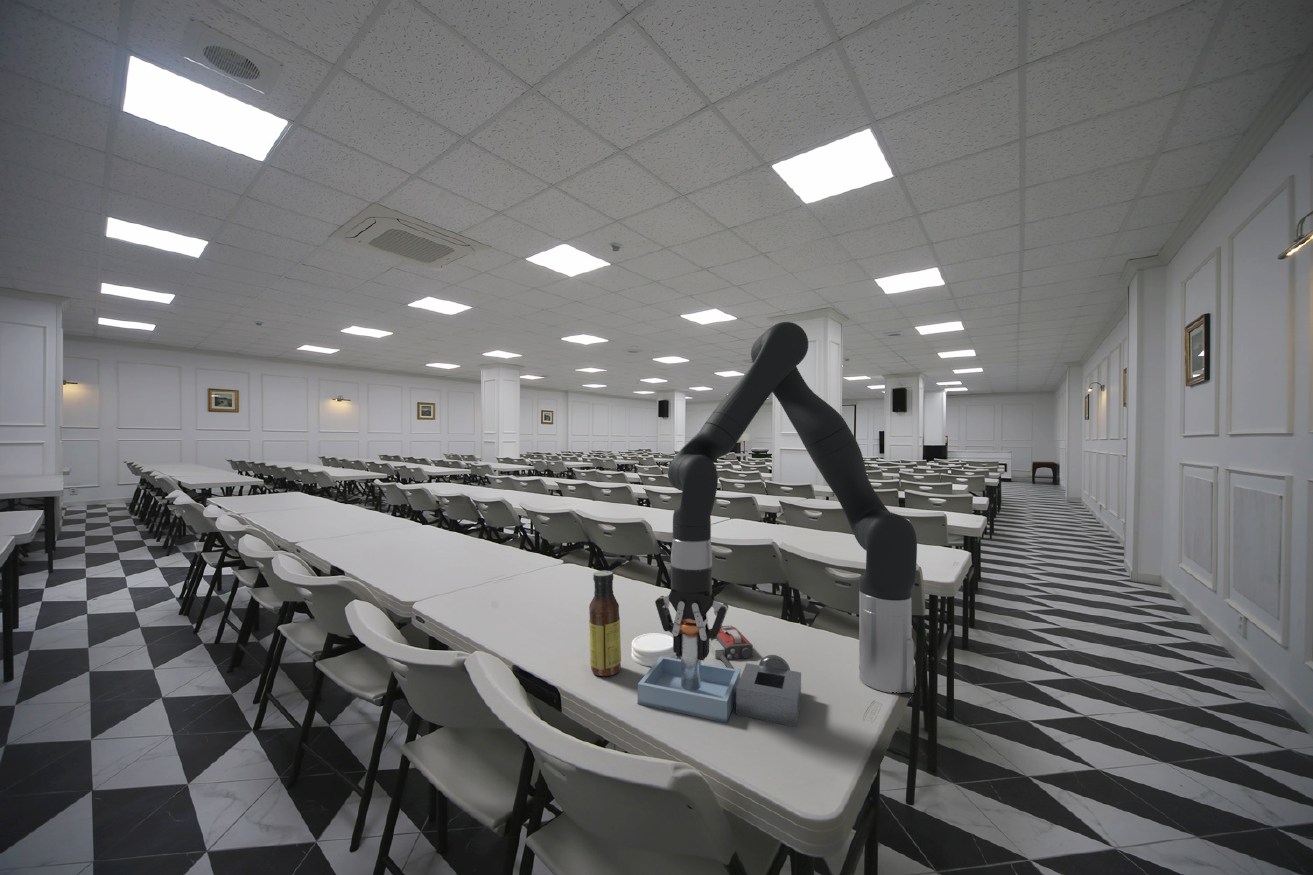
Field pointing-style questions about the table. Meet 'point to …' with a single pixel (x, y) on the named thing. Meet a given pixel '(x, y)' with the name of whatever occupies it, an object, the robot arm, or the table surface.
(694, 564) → the robot arm
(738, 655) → the walkie-talkie
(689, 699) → the tray
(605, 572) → the sauce bottle
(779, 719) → the block
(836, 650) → the table surface
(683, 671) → the lock pin
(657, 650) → the white round disc stack
